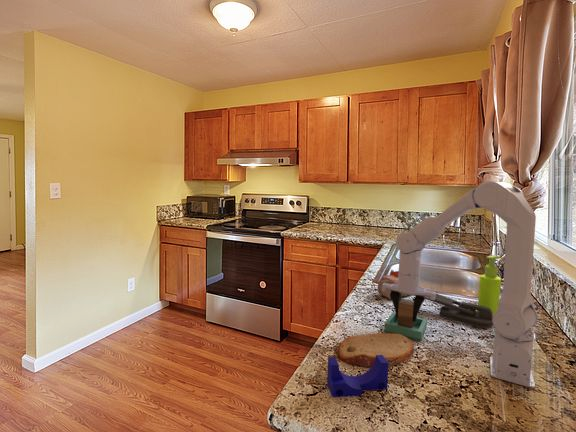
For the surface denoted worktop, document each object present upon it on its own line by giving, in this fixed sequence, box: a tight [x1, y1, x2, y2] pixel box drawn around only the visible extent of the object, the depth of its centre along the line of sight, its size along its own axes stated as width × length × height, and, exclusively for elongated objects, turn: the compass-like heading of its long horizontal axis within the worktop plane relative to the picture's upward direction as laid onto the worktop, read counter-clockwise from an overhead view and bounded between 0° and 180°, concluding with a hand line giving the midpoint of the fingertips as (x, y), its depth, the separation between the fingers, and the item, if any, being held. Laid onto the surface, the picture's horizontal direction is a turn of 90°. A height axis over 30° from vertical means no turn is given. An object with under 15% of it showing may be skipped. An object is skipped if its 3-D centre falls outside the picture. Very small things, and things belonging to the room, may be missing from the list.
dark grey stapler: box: [419, 286, 494, 330], centre depth 106 cm, size 9×7×25 cm
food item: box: [377, 269, 408, 301], centre depth 124 cm, size 14×8×10 cm, turn 125°
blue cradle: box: [326, 355, 389, 398], centre depth 66 cm, size 12×4×6 cm, turn 97°
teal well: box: [383, 312, 428, 342], centre depth 95 cm, size 10×10×2 cm
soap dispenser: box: [477, 254, 504, 315], centre depth 106 cm, size 6×7×20 cm
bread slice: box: [336, 332, 415, 369], centre depth 82 cm, size 18×18×4 cm
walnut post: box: [398, 298, 415, 328], centre depth 94 cm, size 4×4×7 cm
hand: (406, 318), depth 94 cm, fingers closed on walnut post, 4 cm apart
